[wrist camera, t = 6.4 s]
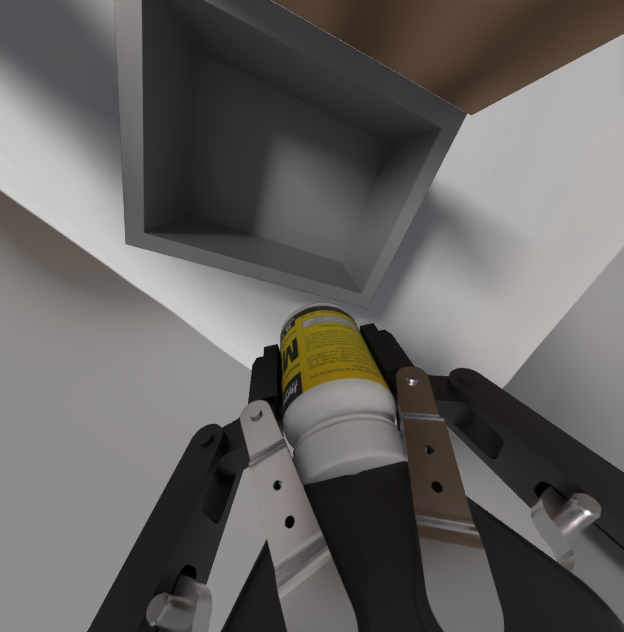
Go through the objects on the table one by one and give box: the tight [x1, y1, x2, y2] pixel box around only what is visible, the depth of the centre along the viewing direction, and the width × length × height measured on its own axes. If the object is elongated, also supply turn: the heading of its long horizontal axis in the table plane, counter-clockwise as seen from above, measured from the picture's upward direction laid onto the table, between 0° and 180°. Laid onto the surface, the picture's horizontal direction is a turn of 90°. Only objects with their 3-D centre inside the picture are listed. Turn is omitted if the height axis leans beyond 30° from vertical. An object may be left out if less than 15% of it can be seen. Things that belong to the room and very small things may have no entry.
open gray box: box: [114, 0, 467, 308], centre depth 20 cm, size 20×15×10 cm
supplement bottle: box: [280, 303, 406, 487], centre depth 11 cm, size 5×5×8 cm
